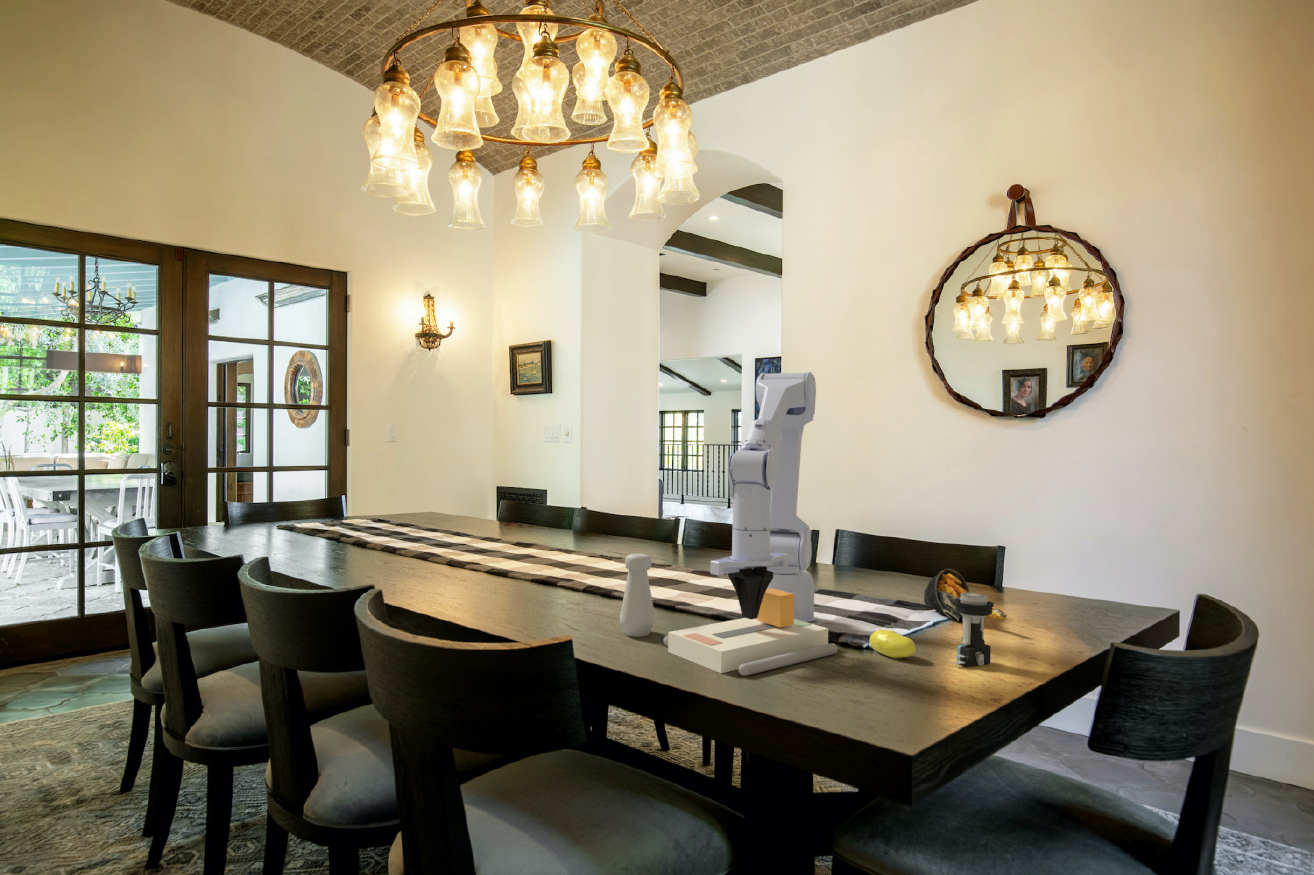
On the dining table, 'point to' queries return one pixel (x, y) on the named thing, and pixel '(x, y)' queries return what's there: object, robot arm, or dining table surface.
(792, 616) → the block
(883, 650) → the lemon
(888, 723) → the dining table surface
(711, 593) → the dining table surface
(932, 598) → the fried shrimp in bowl
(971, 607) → the push button
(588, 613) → the dining table surface
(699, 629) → the breaker panel
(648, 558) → the salt shaker
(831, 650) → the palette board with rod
